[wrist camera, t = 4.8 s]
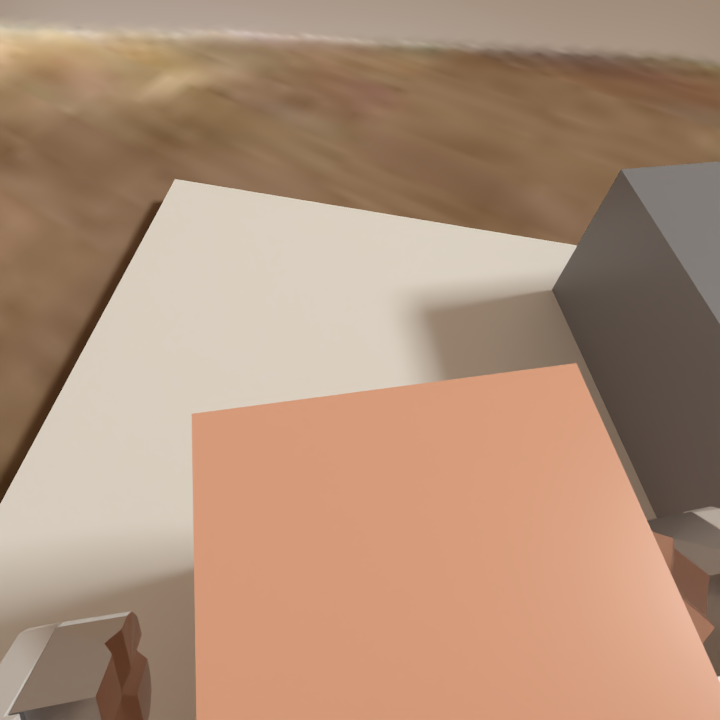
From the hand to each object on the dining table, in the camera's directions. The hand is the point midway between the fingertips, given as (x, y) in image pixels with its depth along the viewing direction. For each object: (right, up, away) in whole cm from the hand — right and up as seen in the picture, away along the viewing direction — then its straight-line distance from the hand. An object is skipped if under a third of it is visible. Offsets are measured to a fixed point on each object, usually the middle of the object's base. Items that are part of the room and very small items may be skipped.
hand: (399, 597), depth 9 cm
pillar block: (0, -3, +4) cm, 5 cm away
